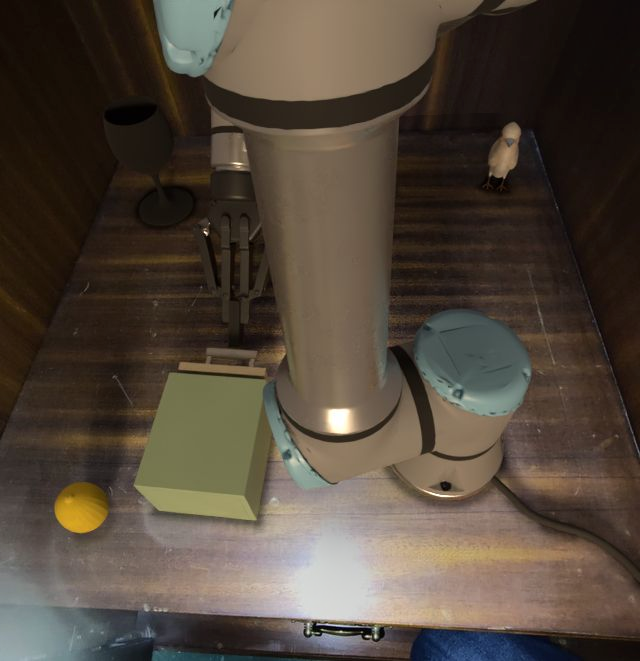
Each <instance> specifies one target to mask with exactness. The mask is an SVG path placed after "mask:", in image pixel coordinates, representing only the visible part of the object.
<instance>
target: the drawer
mask: <svg viewBox="0 0 640 661" xmlns="http://www.w3.org/2000/svg"><path fill="white" fill-rule="evenodd" d="M205 354H206V360H205V363H201V362H185V361H179V364H178V368H177V371H178V373H184V374H198V375H211V376H225V377H238V378H252V379H265V380H267V383H268V382H270V379H269V375H268V372H267V368H266V367H258V366H257V367H256V366H255V364H256V362H257V361H258V359H259V351H258V350H251V349H238V348H219V347H207V348H206V353H205ZM213 359H220V360H221V359H222V360H234V361H235V360H236V361H247V362H248V361H249V363H248V366H242V365H230V364H229V365H228V364H227V365H226V364H215V363H212V362H213Z"/></svg>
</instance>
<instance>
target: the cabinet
mask: <svg viewBox="0 0 640 661" xmlns="http://www.w3.org/2000/svg"><path fill="white" fill-rule="evenodd" d="M265 384H267V380H265V379H252V378H238V377H225V376H211V375H198V374H184V373H179V372H169V373H168V375H167V378H166V382H165V384H164V388H163V391H162V394H161V397H160V400H159V403H158V407H157V410H156V413H155V416H154V419H153V422H152V425H151V429H150V432H149V435H148V438H147V441H146V445H145V448H144V451H143V454H142V457H141V460H140V463H139V466H138V470H137V473H136V476H135V479H134V481H133V487H135V489H136V490H137V491H138V492H139V493H140V494H141V495H142V496H143V497H144V498H145V499H146V500H147V501H148V502H149V503H150V504H151V505H152V506H153V507H154V508H156V509H157V510H158V511H159V512H167V513H178V514H186V515H187V514H188V515H197V516H198V515H199V516H207V517H217V518H218V517H219V518H228V519H237V520H246V521H247V520H248V521H254V522H255V521H258V517H259V512H260V505H261V499H262V494H263V488H264V483H265V476H266V470H267V466H268V459H269V452H270V449H271V442H272V436H273V433H272V430H271V427H270V424H269V421H268V417H267V414H266V410H265V406H264V402H263V388H264V386H265Z"/></svg>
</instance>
